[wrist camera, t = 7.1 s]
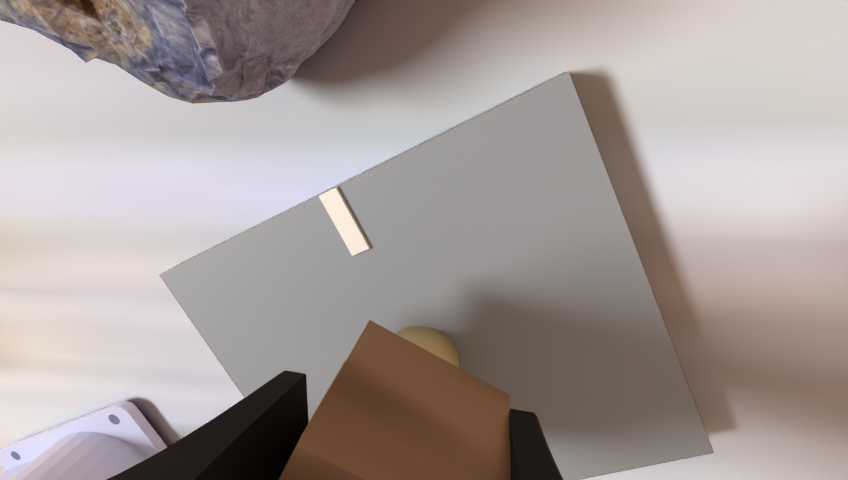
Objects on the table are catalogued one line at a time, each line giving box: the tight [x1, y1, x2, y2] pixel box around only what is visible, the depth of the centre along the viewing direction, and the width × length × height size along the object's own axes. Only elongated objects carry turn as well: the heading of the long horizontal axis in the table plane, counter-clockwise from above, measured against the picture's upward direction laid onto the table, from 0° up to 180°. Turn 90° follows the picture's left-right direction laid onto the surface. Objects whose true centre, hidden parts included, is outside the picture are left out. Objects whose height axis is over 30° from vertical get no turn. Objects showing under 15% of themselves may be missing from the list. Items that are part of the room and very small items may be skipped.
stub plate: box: [160, 72, 714, 480], centre depth 13 cm, size 14×12×3 cm
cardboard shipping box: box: [279, 320, 511, 480], centre depth 10 cm, size 4×4×4 cm
